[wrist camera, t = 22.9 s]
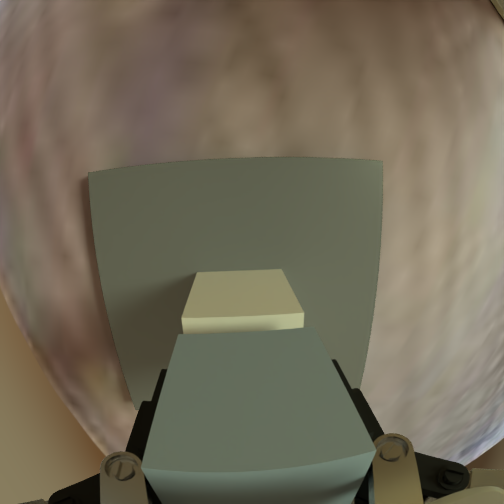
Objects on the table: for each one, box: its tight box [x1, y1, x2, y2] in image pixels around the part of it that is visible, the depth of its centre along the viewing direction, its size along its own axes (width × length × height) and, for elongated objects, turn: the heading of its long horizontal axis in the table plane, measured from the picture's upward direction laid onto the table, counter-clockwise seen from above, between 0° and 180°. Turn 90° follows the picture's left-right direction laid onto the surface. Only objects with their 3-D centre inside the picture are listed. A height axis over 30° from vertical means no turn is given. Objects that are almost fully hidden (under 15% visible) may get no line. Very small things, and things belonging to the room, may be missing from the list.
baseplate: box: [88, 157, 383, 410], centre depth 19 cm, size 18×18×2 cm
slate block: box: [141, 327, 377, 504], centre depth 8 cm, size 5×5×6 cm
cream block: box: [181, 269, 304, 334], centre depth 15 cm, size 5×5×6 cm
